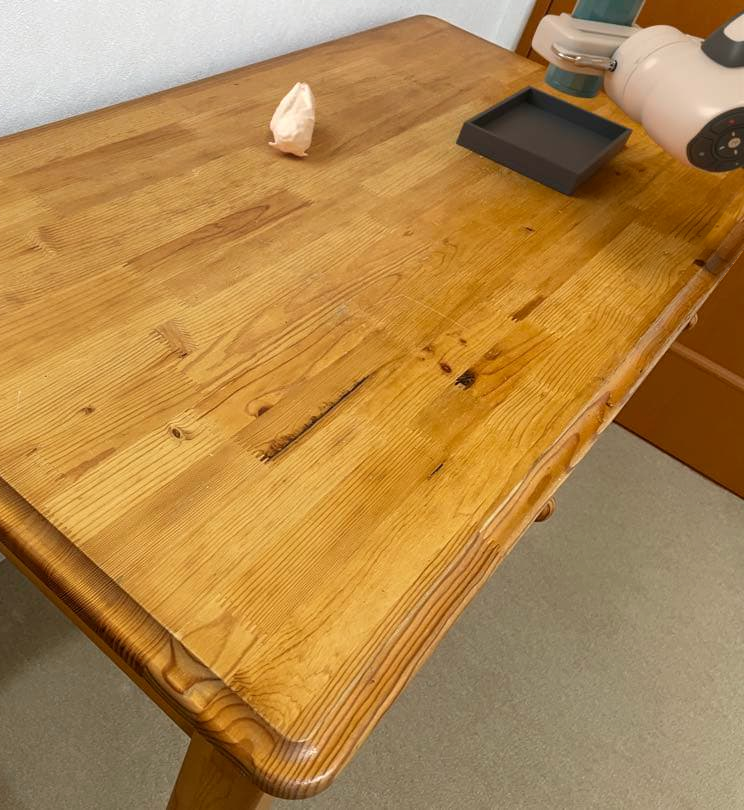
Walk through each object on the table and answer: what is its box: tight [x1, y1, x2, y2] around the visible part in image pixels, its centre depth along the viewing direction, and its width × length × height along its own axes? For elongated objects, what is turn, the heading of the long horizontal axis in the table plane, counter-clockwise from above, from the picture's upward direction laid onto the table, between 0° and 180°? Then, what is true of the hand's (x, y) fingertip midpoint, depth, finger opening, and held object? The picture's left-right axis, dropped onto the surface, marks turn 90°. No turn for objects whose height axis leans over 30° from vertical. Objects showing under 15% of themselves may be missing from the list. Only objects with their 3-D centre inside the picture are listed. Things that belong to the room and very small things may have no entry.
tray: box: [455, 85, 634, 196], centre depth 109 cm, size 21×15×3 cm
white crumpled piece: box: [268, 81, 316, 157], centre depth 96 cm, size 5×7×10 cm
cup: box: [543, 0, 647, 99], centre depth 100 cm, size 7×7×12 cm
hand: (595, 25), depth 100 cm, fingers closed on cup, 7 cm apart
